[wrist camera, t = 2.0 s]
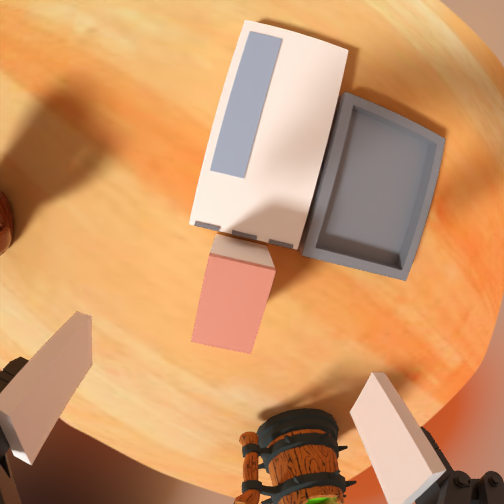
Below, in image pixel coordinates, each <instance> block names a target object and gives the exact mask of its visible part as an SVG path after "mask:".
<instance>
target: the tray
mask: <svg viewBox="0 0 504 504" xmlns="http://www.w3.org/2000/svg"><path fill="white" fill-rule="evenodd" d="M444 145H445V138H443V137H441V136H439V135H438V134H436V133H434V132H432V131H430V130H429V129H427V128H425V127H423V126H421V125H419V124H417V123H415V122H413V121H411V120H409V119H407V118H405V117H403V116H401V115H399V114H397V113H395V112H393V111H390V110H388V109H386V108H384V107H382V106H379V105H377V104H375V103H372V102H370V101H368V100H365V99H363V98H360V97H358V96H355V95H353V94H350V93H348V92H344V93H343V94H341V95H340V96H338V100H337V104H336V108H335V112H334V116H333V121H332V125H331V129H330V133H329V137H328V141H327V144H326V148H325V152H324V156H323V160H322V164H321V167H320V171H319V175H318V179H317V182H316V186H315V190H314V193H313V197H312V201H311V204H310V208H309V211H308V215H307V218H306V222H305V225H304V229H303V232H302V236H301V239H300V242H299V246H298V249H297V250H298V251H299V252H300V254H301V255H302V256H305V257H310V258H314V259H318V260H322V261H326V262H330V263H334V264H338V265H343V266H347V267H351V268H355V269H359V270H363V271H367V272H371V273H375V274H379V275H384V276H388V277H392V278H396V279H400V280H404V281H406V280H407V277H408V274H409V271H410V269H411V266H412V263H413V260H414V257H415V254H416V252H417V249H418V246H419V242H420V239H421V236H422V233H423V230H424V226H425V223H426V220H427V216H428V213H429V209H430V206H431V202H432V198H433V194H434V190H435V186H436V182H437V178H438V174H439V169H440V165H441V160H442V155H443V150H444Z"/></svg>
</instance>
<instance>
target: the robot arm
mask: <svg viewBox="0 0 504 504" xmlns="http://www.w3.org/2000/svg"><path fill="white" fill-rule="evenodd" d="M91 366H92V316H89V315H86V314H83V313H80V312H76V313H75V314H74V315H73V316H72V317H71V318H70V319H69V320H68V321H67V322H66V323H65V324H64V325H63V326H62V327H61V328H60V329H59V330H58V331H57V332H56V333H55V334H54V335H53V336H52V337H51V338H50V339H49V340H48V341H47V342H46V343H45V344H44V345H43V346H42V347H41V349H40V350H39V351H38V352H37V353H36V354H35V355H34V356H33V357H32V358H31V359H30V360H27V359H24V358H22V357H19V358H17V359H15V360H13V361H11V362H9V363H8V365H7V366H6V367H5V368H4V369H3V371H1V372H0V504H22V503H21V501H20V498H19V494H18V492H17V488H16V486H15V482H14V479H13V475H12V472H11V469H10V464H9V460H8V457H7V455H6V452H7V450H8V449H9V447H10V448H11V450H12V452H13V454H14V456H16V457H18V458H19V459H21V460H23V461H25V462H26V463H28V464H30V465H32V463H33V462H34V460H35V458H36V456H37V454H38V452H39V451H40V449H41V447H42V445H43V444H44V442H45V440H46V438H47V437H48V435H49V433H50V431H51V430H52V428H53V426H54V425H55V423H56V421H57V420H58V418H59V416H60V415H61V413H62V411H63V410H64V408H65V407H66V405H67V403H68V402H69V400H70V398H71V397H72V395H73V394H74V392H75V391H76V389H77V387H78V386H79V384H80V383H81V381H82V380H83V378H84V376H85V375H86V373H87V372H88V370H89V369H90V367H91ZM350 414H351V416H352V418H353V421H354V423H355V425H356V428H357V430H358V432H359V435H360V437H361V439H362V442H363V444H364V447H365V449H366V451H367V454H368V456H369V458H370V461H371V463H372V466H373V468H374V470H375V473H376V475H377V478H378V480H379V482H380V485H381V487H382V490H383V492H384V495H385V497H386V500H387V502H388V504H412V503H413V502H414V501H415V503H416V504H504V482H503V479H502V477H501V476H500V475H499V474H498V473H496V472H494V471H488V472H487V473H485V475H484V476H482V477H481V478H480V479H470V477H469V476H468V475H467V474H466V473H464V472H462V471H454V470H453V469H452V467H451V466H450V464H449V463H448V461H447V460H446V458H445V456H444V455H443V453H442V452H441V450H440V449H439V447H438V445H437V444H436V443H435V440H434V439H433V438H432V436H431V434H430V433H429V432H428V431H426V430H425V429H424V428H423V427H420V426H419V425H418V423H417V422H416V420H415V418H414V417H413V415H412V414H411V412H410V411H409V409H408V408H407V406H406V404H405V403H404V401H403V400H402V398H401V397H400V395H399V394H398V392H397V391H396V389H395V388H394V386H393V385H392V383H391V382H390V380H389V379H388V377H387V376H386V374H385V373H383V372H372V373H371V375H370V377H369V379H368V381H367V382H366V384H365V386H364V388H363V390H362V392H361V393H360V395H359V397H358V399H357V400H356V402H355V404H354V406H353V407H352V409H351V411H350Z"/></svg>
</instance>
